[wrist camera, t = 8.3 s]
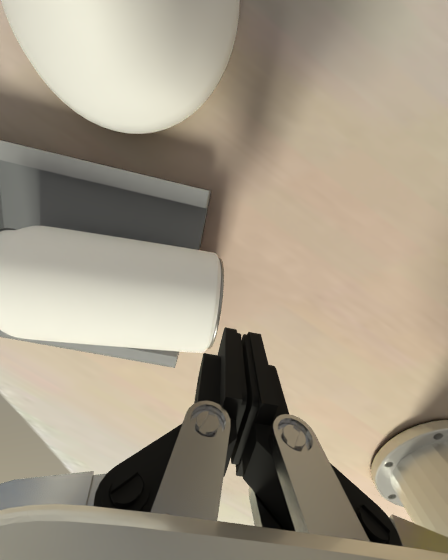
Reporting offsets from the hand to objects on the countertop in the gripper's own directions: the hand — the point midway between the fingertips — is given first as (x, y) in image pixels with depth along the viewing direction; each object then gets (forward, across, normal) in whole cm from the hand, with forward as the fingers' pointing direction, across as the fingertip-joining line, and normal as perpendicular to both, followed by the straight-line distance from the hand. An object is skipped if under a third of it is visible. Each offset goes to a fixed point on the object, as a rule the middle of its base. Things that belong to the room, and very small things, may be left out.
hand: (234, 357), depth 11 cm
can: (+5, +1, 0) cm, 5 cm away
